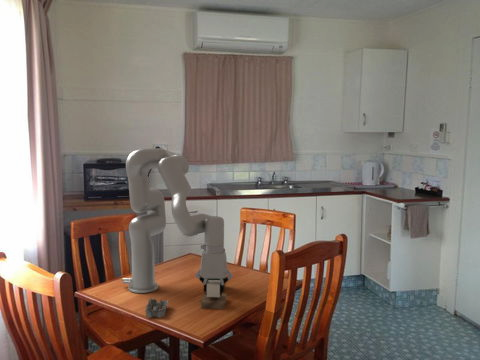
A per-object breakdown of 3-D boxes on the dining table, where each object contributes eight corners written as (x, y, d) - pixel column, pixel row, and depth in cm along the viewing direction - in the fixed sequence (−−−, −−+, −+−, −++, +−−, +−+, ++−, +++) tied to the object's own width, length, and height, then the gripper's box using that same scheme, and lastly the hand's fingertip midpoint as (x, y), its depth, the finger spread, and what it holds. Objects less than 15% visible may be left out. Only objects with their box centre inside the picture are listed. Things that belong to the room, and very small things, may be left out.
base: (200, 309, 171) (200, 301, 170) (204, 300, 180) (204, 293, 179) (224, 310, 170) (224, 302, 170) (226, 301, 179) (226, 294, 179)
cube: (206, 296, 172) (206, 284, 171) (208, 292, 177) (208, 280, 176) (219, 297, 172) (219, 284, 171) (220, 292, 177) (220, 280, 176)
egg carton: (150, 306, 172) (150, 296, 172) (169, 307, 172) (169, 297, 171) (143, 318, 162) (143, 307, 161) (163, 318, 161) (163, 307, 161)
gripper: (190, 250, 169) (190, 296, 171) (235, 251, 168) (234, 298, 170) (193, 245, 176) (193, 289, 178) (236, 246, 176) (236, 291, 178)
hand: (213, 293), depth 174 cm, fingers closed on cube, 5 cm apart
